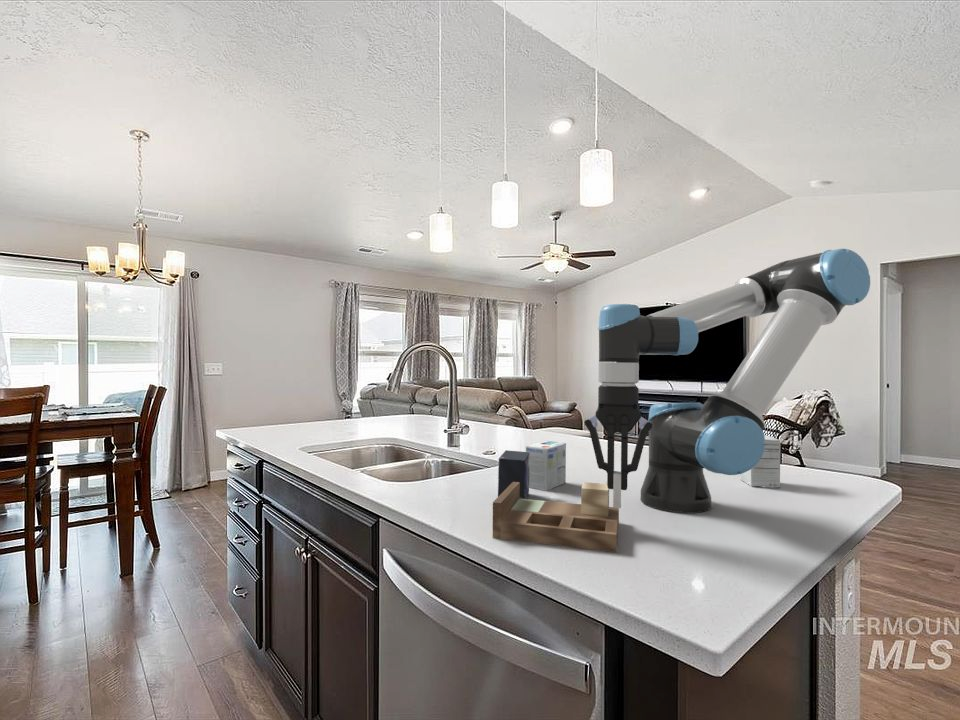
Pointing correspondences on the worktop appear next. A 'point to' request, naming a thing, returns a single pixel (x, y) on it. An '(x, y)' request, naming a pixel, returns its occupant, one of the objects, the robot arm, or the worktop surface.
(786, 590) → the worktop surface
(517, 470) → the small box
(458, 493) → the worktop surface
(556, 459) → the light bulb box
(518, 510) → the tray
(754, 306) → the robot arm
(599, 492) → the maple block
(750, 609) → the worktop surface
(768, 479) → the supplement box
